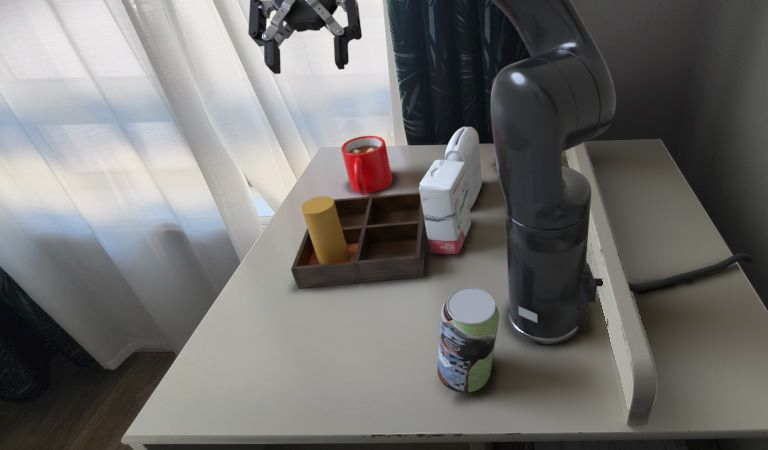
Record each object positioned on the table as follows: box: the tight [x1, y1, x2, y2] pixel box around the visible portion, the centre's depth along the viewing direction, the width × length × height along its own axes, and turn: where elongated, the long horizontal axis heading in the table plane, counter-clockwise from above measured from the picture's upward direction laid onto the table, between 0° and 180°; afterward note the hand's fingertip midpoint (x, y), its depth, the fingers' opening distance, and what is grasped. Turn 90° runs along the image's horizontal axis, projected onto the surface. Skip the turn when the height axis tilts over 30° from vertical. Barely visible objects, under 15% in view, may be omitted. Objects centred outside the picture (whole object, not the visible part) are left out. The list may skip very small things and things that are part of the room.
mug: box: [340, 135, 393, 197], centre depth 90 cm, size 8×12×8 cm, turn 5°
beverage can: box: [437, 287, 500, 394], centre depth 53 cm, size 6×7×12 cm
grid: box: [290, 191, 427, 289], centre depth 76 cm, size 18×18×4 cm
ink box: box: [418, 159, 472, 255], centre depth 75 cm, size 9×5×12 cm, turn 168°
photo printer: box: [444, 126, 483, 210], centre depth 84 cm, size 10×4×12 cm, turn 169°
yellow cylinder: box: [300, 195, 350, 264], centre depth 70 cm, size 4×4×10 cm
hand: (307, 69), depth 65 cm, fingers open, 8 cm apart
